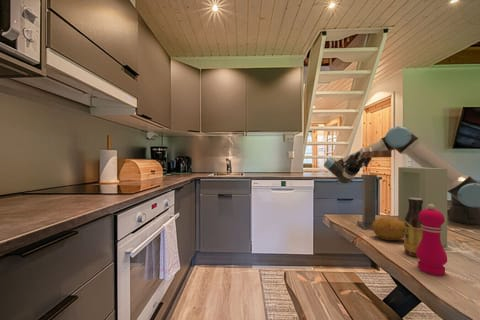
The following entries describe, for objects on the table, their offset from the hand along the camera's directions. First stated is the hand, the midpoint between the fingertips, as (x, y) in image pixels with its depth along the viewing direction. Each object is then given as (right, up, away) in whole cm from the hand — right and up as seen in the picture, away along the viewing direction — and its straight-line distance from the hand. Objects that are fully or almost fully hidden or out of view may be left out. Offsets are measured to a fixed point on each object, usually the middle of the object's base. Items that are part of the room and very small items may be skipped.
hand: (366, 149), depth 118 cm
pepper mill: (-9, -39, -50) cm, 64 cm away
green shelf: (+11, -39, -22) cm, 46 cm away
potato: (-3, -39, -24) cm, 46 cm away
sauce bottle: (-5, -39, -38) cm, 55 cm away
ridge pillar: (-2, -39, -6) cm, 39 cm away
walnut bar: (0, -4, -5) cm, 7 cm away
